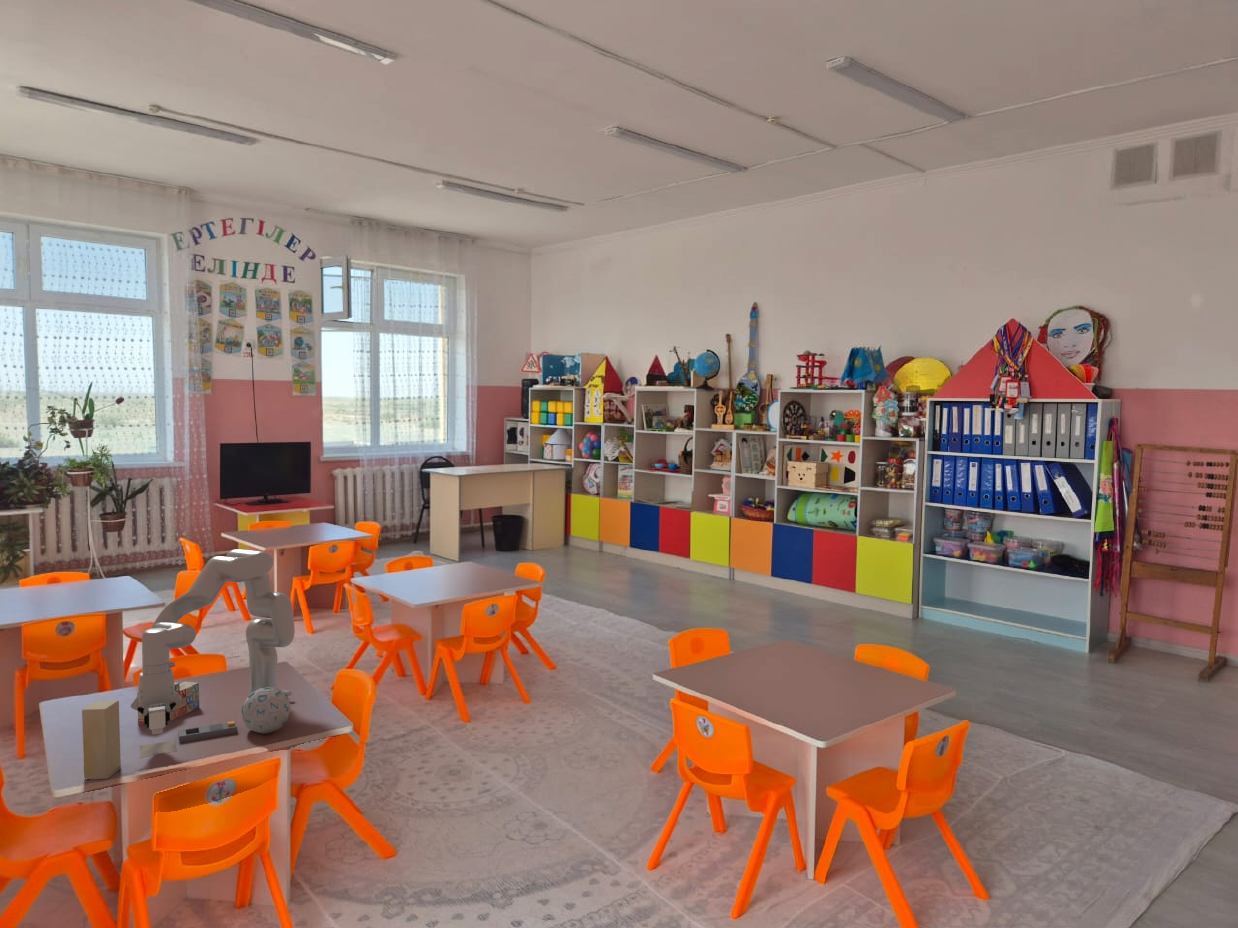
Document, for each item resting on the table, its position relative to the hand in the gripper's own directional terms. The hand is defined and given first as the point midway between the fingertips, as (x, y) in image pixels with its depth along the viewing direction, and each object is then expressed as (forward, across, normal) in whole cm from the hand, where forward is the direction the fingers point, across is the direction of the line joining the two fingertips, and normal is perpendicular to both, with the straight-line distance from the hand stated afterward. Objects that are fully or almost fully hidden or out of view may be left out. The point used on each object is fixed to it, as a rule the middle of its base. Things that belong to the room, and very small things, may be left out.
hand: (157, 724), depth 261 cm
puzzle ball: (+9, -32, -1) cm, 33 cm away
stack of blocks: (+9, -5, -32) cm, 33 cm away
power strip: (+9, -15, -5) cm, 18 cm away
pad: (+9, 0, 0) cm, 9 cm away
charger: (+2, 0, 0) cm, 2 cm away
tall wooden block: (+9, +15, +10) cm, 20 cm away
